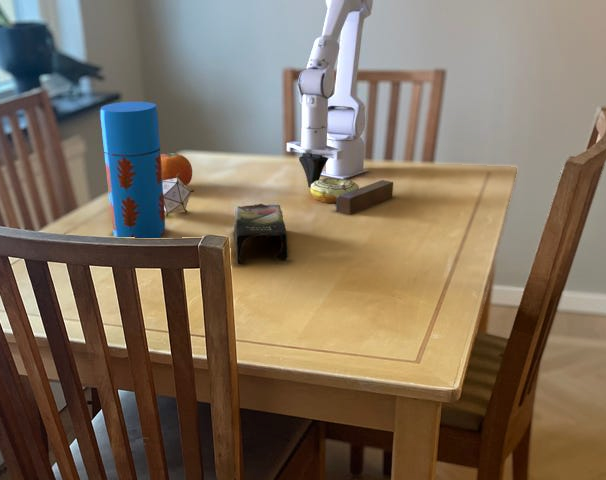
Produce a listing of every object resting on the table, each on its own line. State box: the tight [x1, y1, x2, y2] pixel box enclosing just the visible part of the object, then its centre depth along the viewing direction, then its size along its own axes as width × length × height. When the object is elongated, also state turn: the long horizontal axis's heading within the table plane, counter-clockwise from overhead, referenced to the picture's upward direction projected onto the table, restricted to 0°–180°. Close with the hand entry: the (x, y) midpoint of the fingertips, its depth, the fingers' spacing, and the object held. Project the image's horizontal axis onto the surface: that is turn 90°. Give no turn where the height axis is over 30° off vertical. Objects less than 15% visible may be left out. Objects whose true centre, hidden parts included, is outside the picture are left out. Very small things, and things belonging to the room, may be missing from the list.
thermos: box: [100, 101, 166, 239], centre depth 156 cm, size 11×11×25 cm
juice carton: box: [232, 203, 289, 265], centre depth 152 cm, size 20×10×6 cm, turn 1°
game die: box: [162, 174, 195, 219], centre depth 171 cm, size 9×8×10 cm
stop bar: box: [335, 179, 394, 215], centre depth 174 cm, size 16×4×4 cm, turn 136°
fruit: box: [161, 152, 193, 187], centre depth 189 cm, size 11×10×8 cm
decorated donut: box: [309, 177, 360, 204], centre depth 179 cm, size 10×11×4 cm
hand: (313, 186), depth 183 cm, fingers closed
